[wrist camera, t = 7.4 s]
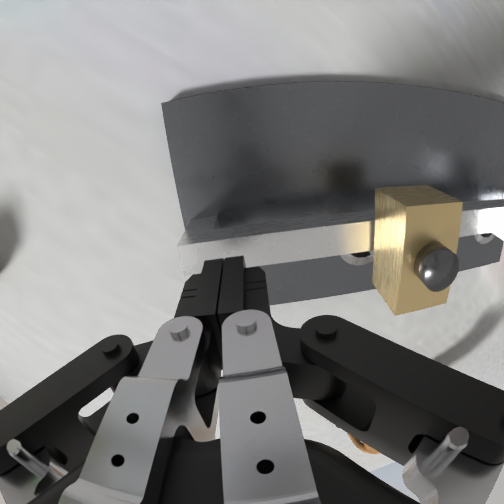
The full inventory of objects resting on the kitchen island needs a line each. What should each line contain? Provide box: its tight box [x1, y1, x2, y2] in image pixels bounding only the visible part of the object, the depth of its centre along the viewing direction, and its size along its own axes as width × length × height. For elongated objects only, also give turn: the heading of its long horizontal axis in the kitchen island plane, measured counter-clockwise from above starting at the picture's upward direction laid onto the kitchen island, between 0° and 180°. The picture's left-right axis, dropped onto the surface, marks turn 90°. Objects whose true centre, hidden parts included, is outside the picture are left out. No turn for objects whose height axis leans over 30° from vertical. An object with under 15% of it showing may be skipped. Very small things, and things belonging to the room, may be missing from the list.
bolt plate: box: [161, 81, 504, 305], centre depth 17 cm, size 14×26×1 cm, turn 98°
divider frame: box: [177, 189, 504, 275], centre depth 13 cm, size 5×25×8 cm, turn 98°
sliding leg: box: [369, 185, 463, 316], centre depth 13 cm, size 5×3×8 cm, turn 8°
